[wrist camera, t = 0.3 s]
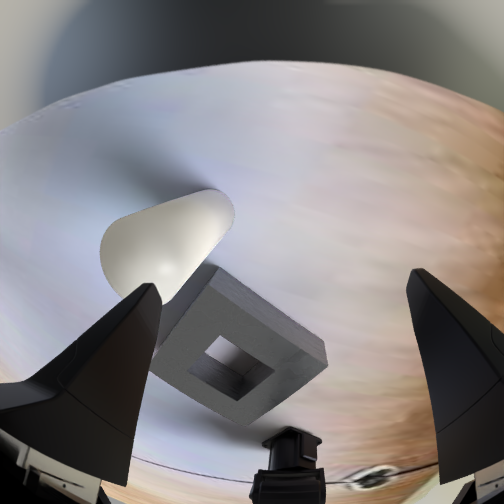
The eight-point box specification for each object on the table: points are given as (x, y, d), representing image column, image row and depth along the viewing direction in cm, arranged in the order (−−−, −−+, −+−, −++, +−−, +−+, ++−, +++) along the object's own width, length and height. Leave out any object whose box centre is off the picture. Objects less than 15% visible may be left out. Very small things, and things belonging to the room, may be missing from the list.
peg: (216, 247, 25) (155, 324, 12) (178, 218, 24) (89, 268, 12) (244, 209, 23) (201, 257, 11) (204, 179, 23) (122, 195, 11)
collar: (248, 403, 30) (244, 426, 27) (159, 346, 29) (145, 368, 25) (323, 341, 27) (328, 366, 23) (219, 266, 25) (208, 284, 22)
